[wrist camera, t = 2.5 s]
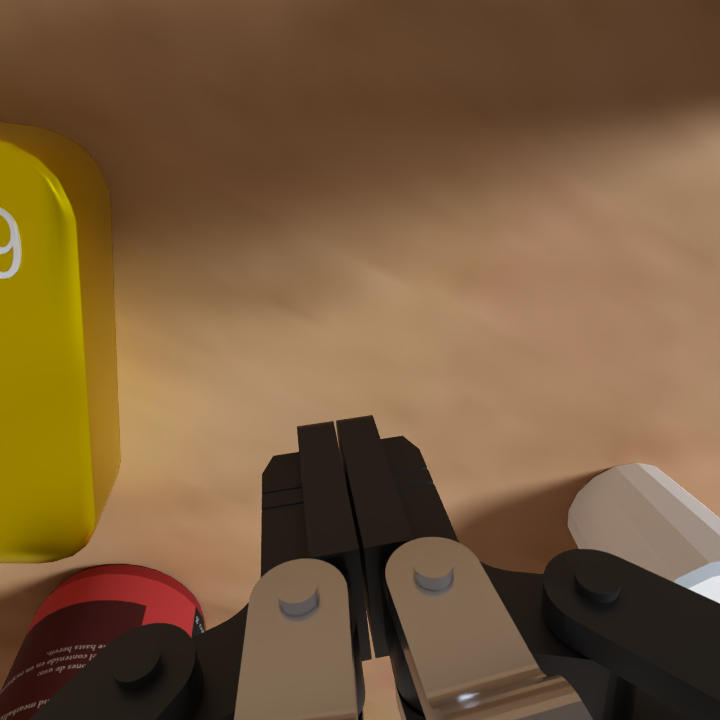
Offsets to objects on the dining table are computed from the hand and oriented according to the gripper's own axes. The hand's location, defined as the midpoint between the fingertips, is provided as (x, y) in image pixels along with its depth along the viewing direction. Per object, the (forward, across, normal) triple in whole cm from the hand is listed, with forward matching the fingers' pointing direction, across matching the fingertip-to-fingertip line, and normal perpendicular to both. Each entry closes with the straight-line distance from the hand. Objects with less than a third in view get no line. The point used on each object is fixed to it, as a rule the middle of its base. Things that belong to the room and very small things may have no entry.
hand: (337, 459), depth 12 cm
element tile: (+12, +15, 0) cm, 19 cm away
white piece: (+12, -14, +14) cm, 23 cm away
